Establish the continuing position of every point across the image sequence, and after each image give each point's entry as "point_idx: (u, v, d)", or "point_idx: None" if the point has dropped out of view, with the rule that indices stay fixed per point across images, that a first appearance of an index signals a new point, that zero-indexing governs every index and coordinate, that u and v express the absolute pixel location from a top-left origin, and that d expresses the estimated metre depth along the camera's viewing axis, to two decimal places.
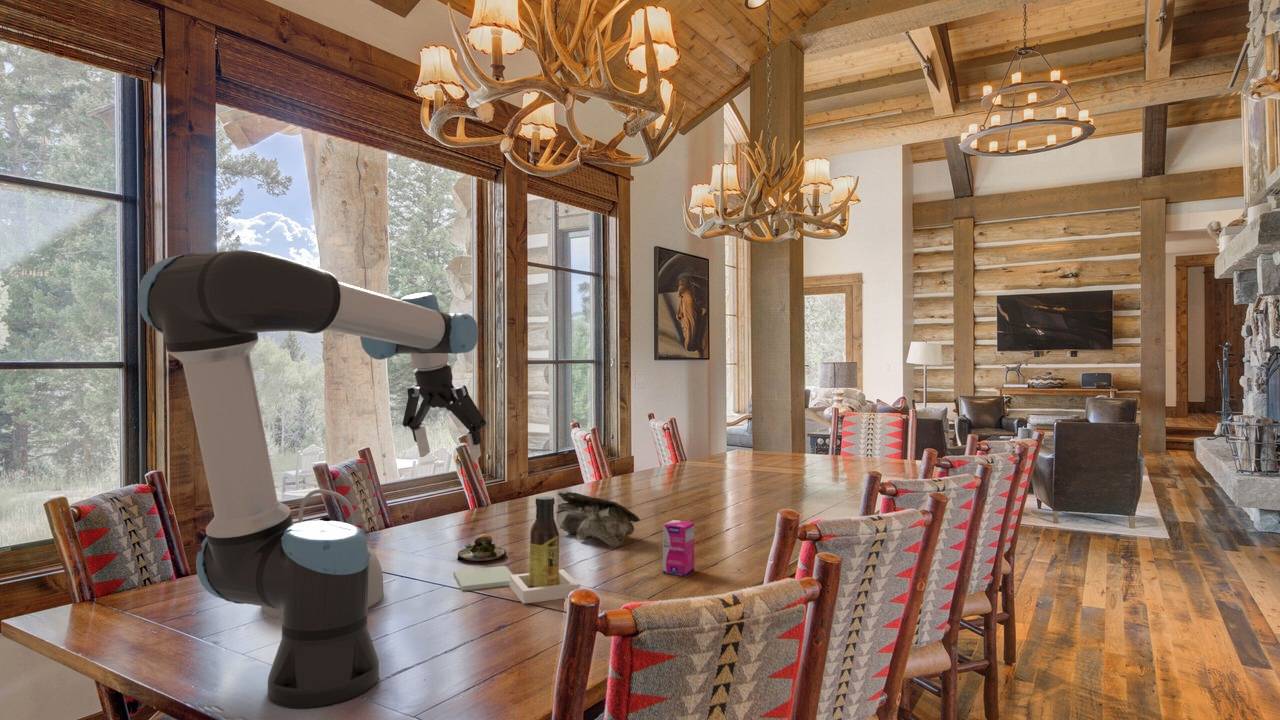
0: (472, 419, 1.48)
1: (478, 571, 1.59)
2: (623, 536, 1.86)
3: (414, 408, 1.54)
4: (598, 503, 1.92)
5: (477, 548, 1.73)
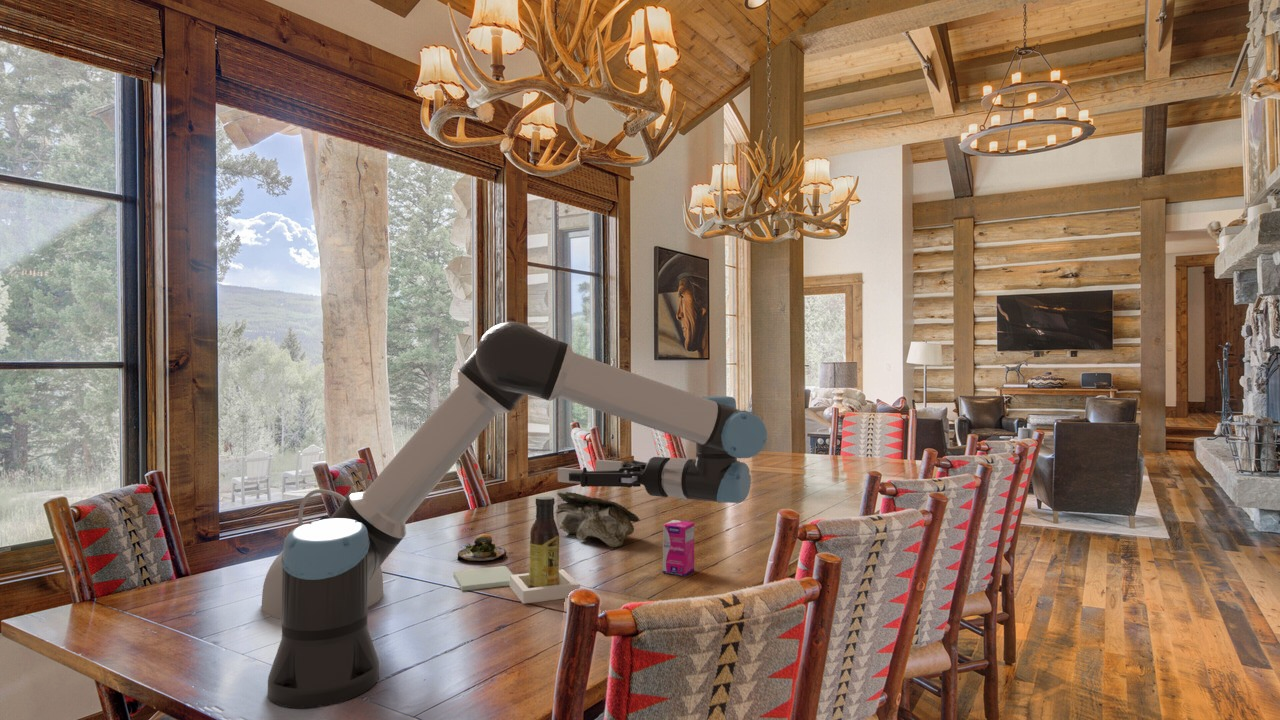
0: (594, 473, 1.32)
1: (478, 571, 1.59)
2: (623, 536, 1.86)
3: None
4: (598, 503, 1.92)
5: (477, 548, 1.73)
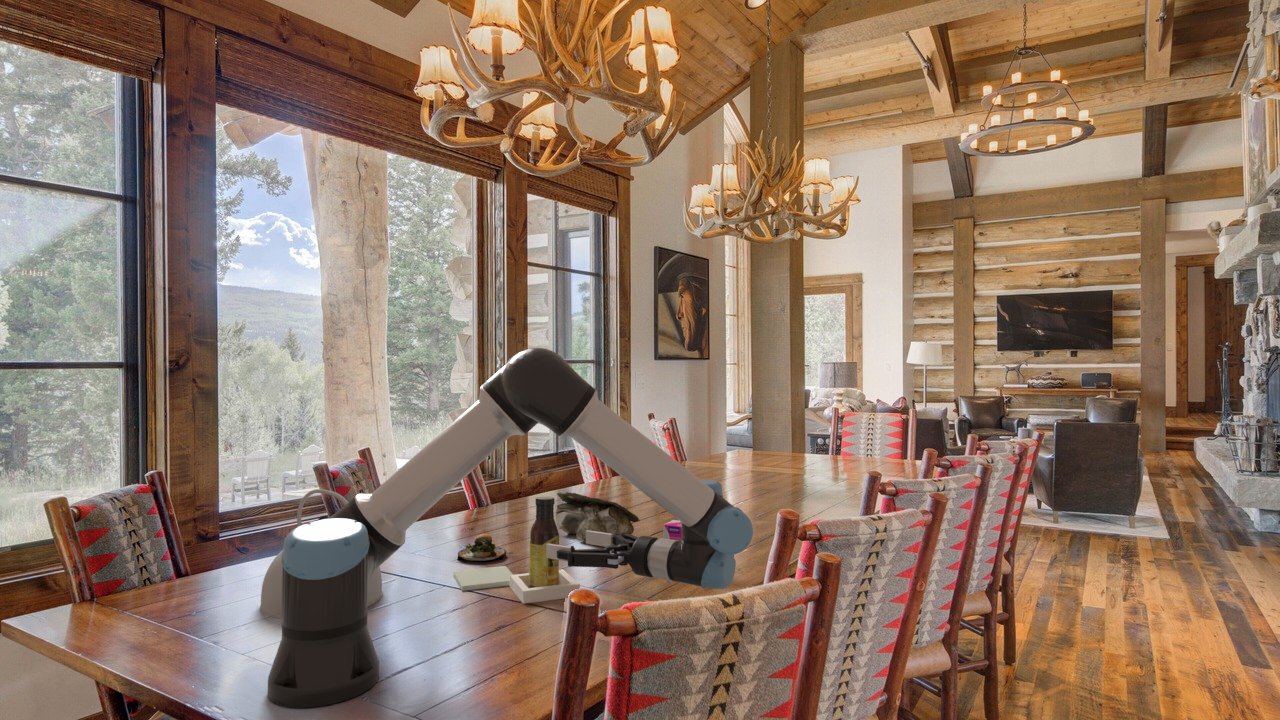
0: (581, 553, 1.33)
1: (478, 571, 1.59)
2: None
3: None
4: (598, 503, 1.92)
5: (477, 548, 1.73)
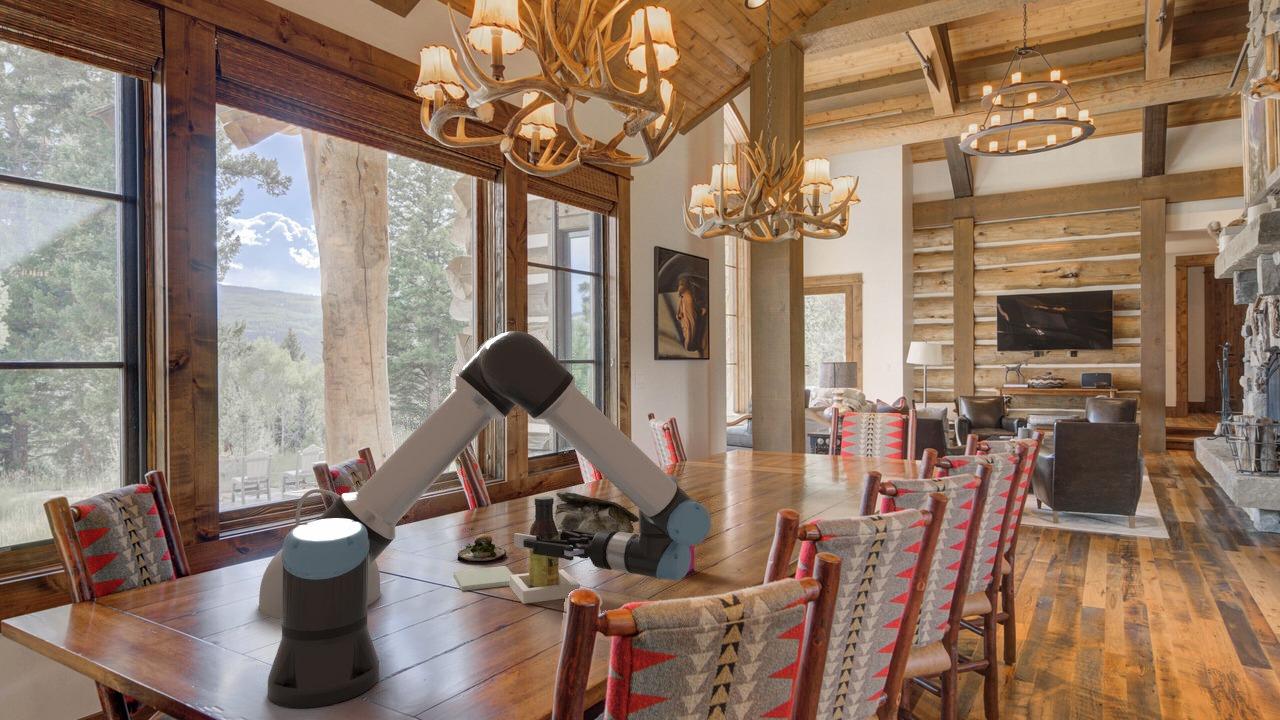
0: (544, 542, 1.41)
1: (478, 571, 1.59)
2: None
3: None
4: (597, 503, 1.92)
5: (477, 548, 1.73)
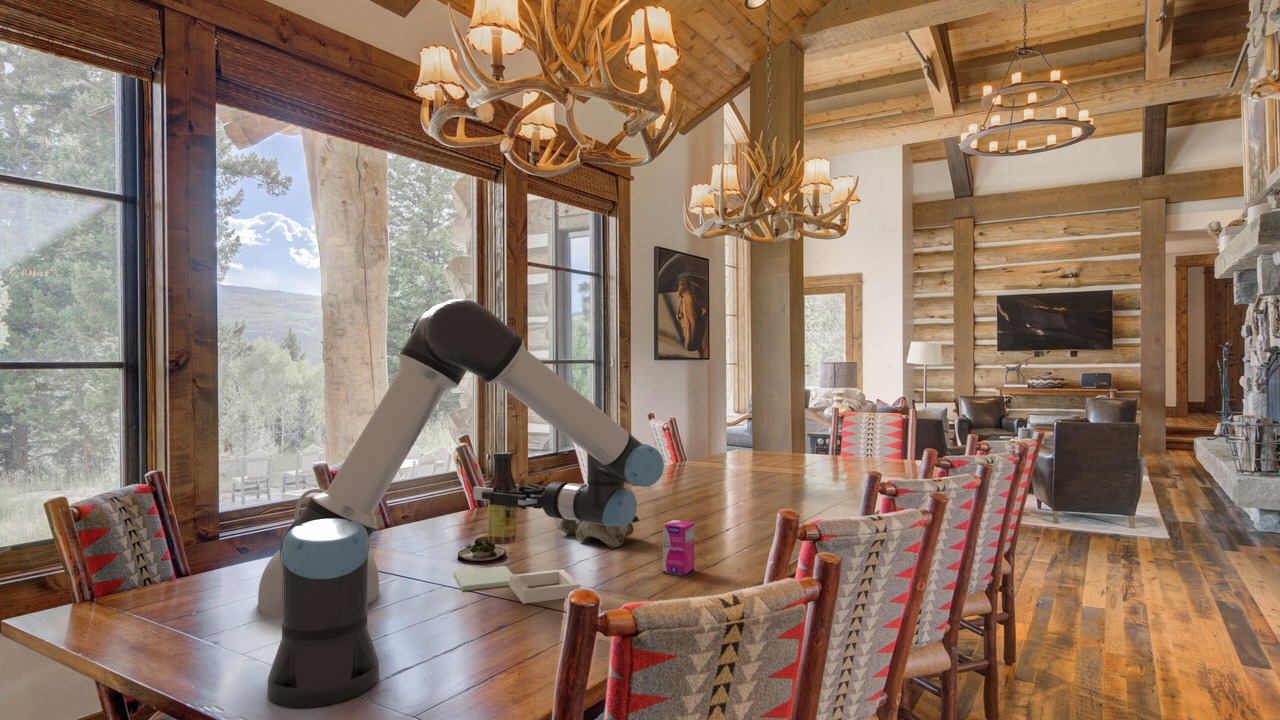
0: (500, 493, 1.48)
1: (478, 571, 1.59)
2: (623, 536, 1.86)
3: None
4: None
5: (477, 548, 1.73)
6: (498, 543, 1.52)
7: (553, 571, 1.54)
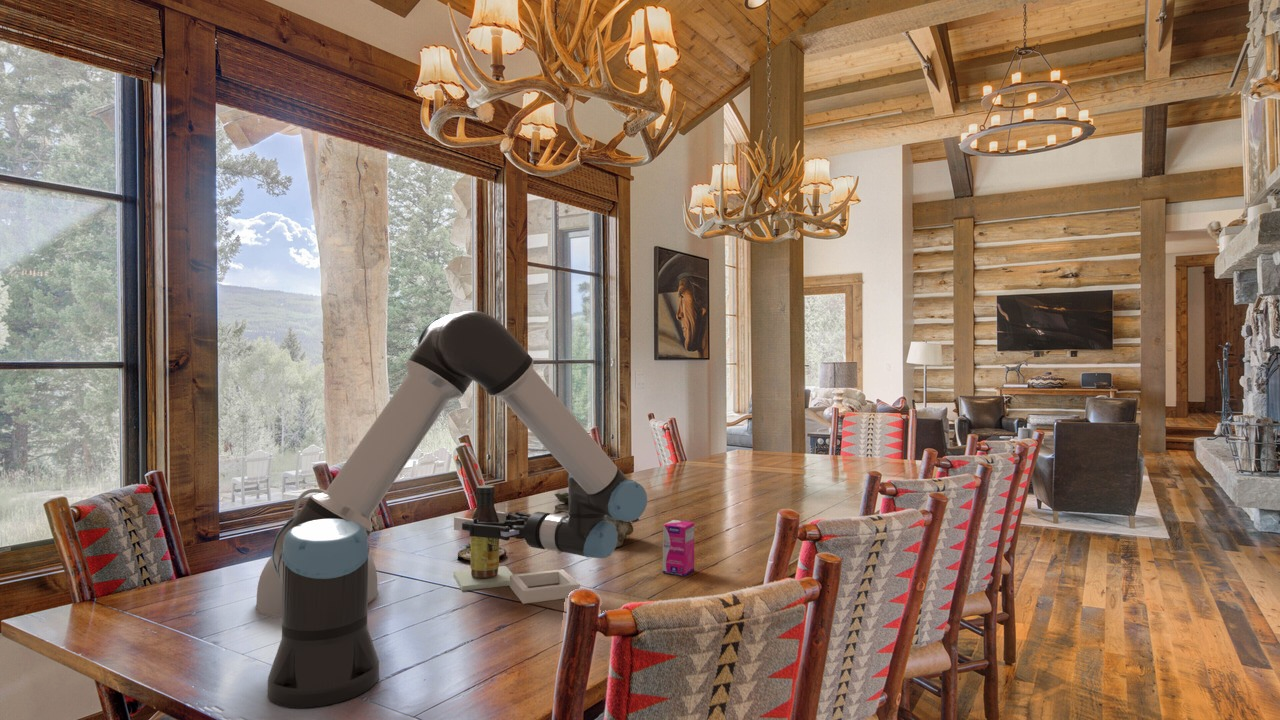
0: (480, 524, 1.48)
1: None
2: (623, 536, 1.86)
3: None
4: None
5: None
6: (481, 577, 1.53)
7: (553, 571, 1.54)
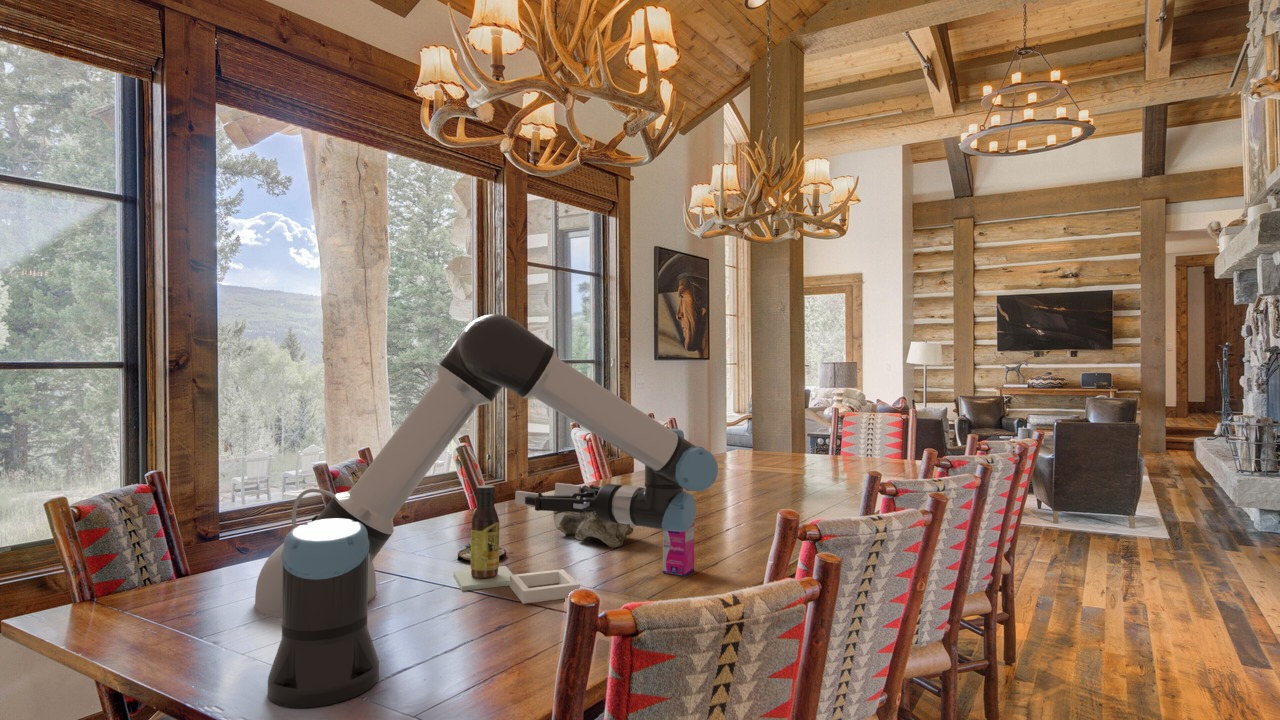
0: (548, 497, 1.38)
1: None
2: (623, 536, 1.86)
3: None
4: None
5: None
6: (480, 577, 1.53)
7: (553, 571, 1.54)
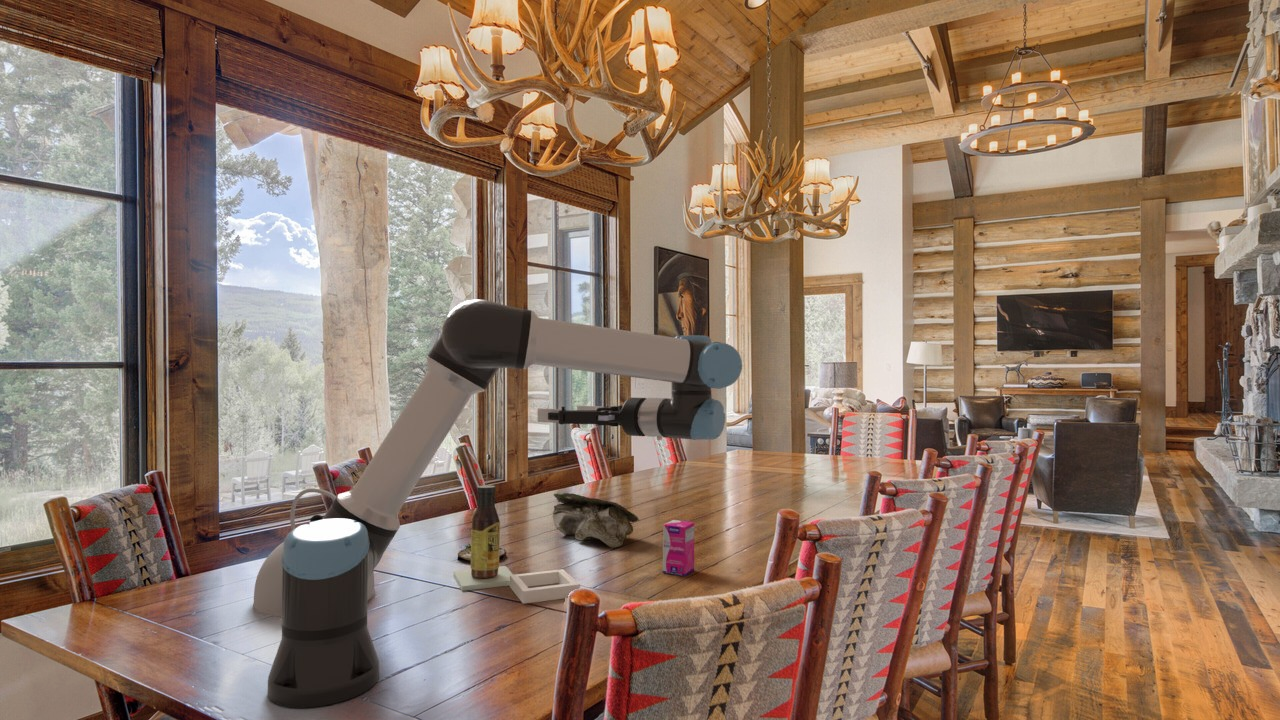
0: (572, 411, 1.34)
1: None
2: (623, 536, 1.86)
3: None
4: (596, 504, 1.91)
5: None
6: (480, 577, 1.53)
7: (553, 571, 1.54)
